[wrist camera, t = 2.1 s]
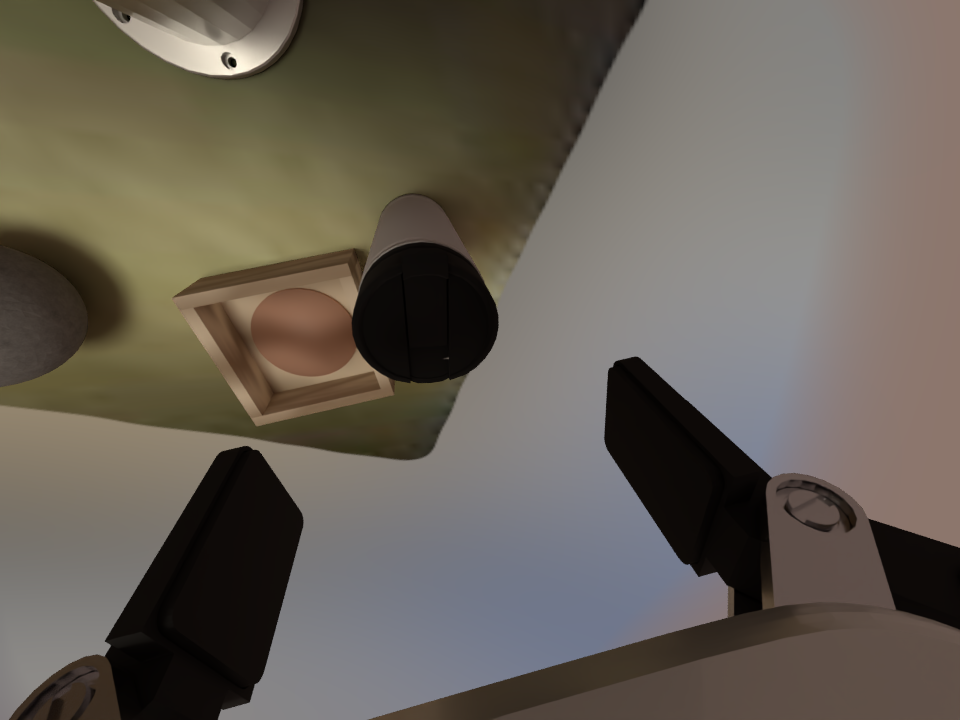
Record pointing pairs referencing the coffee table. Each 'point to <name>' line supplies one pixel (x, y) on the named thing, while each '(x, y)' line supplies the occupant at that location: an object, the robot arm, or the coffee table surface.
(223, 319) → the open box
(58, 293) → the decorative ball
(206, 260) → the coffee table surface
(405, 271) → the travel mug
